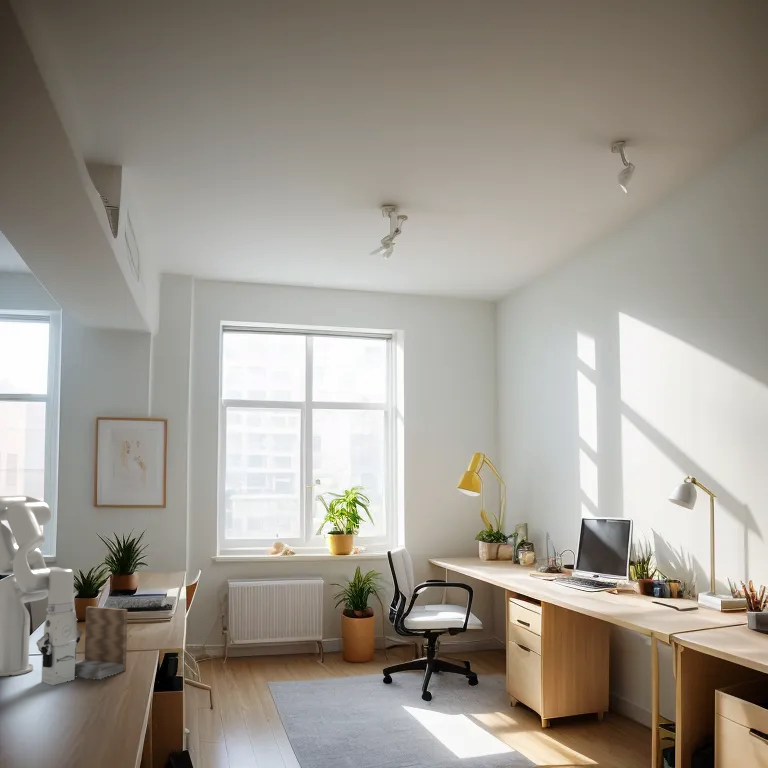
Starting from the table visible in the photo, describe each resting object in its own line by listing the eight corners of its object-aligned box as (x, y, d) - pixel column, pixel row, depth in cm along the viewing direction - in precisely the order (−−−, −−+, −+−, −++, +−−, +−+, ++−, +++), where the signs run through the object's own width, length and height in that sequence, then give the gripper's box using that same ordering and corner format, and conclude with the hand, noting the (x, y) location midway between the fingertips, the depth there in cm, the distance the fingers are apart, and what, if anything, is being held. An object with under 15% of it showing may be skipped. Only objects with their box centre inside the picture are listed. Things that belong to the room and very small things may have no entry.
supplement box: (53, 685, 237) (54, 644, 239) (40, 682, 242) (42, 641, 243) (75, 680, 243) (76, 639, 245) (62, 676, 248) (63, 636, 249)
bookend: (59, 674, 250) (61, 612, 252) (87, 666, 261) (89, 606, 263) (99, 679, 243) (100, 615, 245) (126, 670, 254) (127, 609, 256)
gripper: (47, 613, 236) (45, 670, 234) (89, 604, 251) (88, 658, 249) (29, 612, 239) (28, 669, 237) (72, 603, 254) (71, 656, 252)
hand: (59, 663), depth 243 cm, fingers open, 9 cm apart
